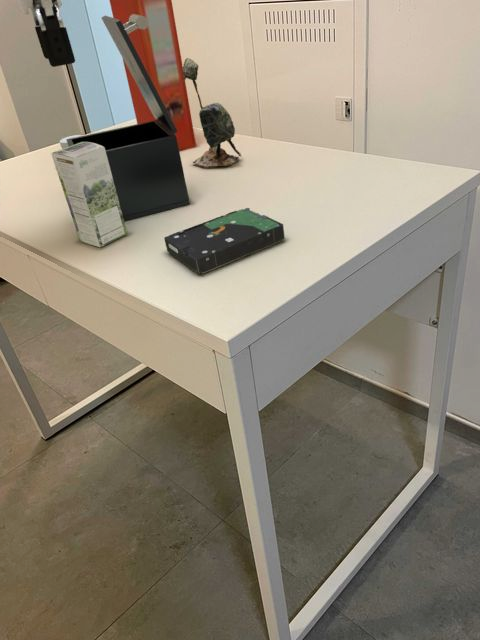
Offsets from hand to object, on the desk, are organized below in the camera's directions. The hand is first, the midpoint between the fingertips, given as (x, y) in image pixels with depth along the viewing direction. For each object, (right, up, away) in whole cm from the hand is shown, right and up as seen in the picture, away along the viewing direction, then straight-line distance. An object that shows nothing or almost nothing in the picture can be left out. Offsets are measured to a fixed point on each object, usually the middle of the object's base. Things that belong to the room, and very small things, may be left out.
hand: (59, 60), depth 75 cm
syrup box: (+2, -22, +14) cm, 26 cm away
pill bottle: (-7, -7, +35) cm, 37 cm away
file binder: (+5, +10, +56) cm, 57 cm away
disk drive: (+22, -24, +7) cm, 34 cm away
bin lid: (+7, +5, +15) cm, 17 cm away
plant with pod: (+19, -1, +39) cm, 43 cm away
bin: (+5, -13, +25) cm, 29 cm away
